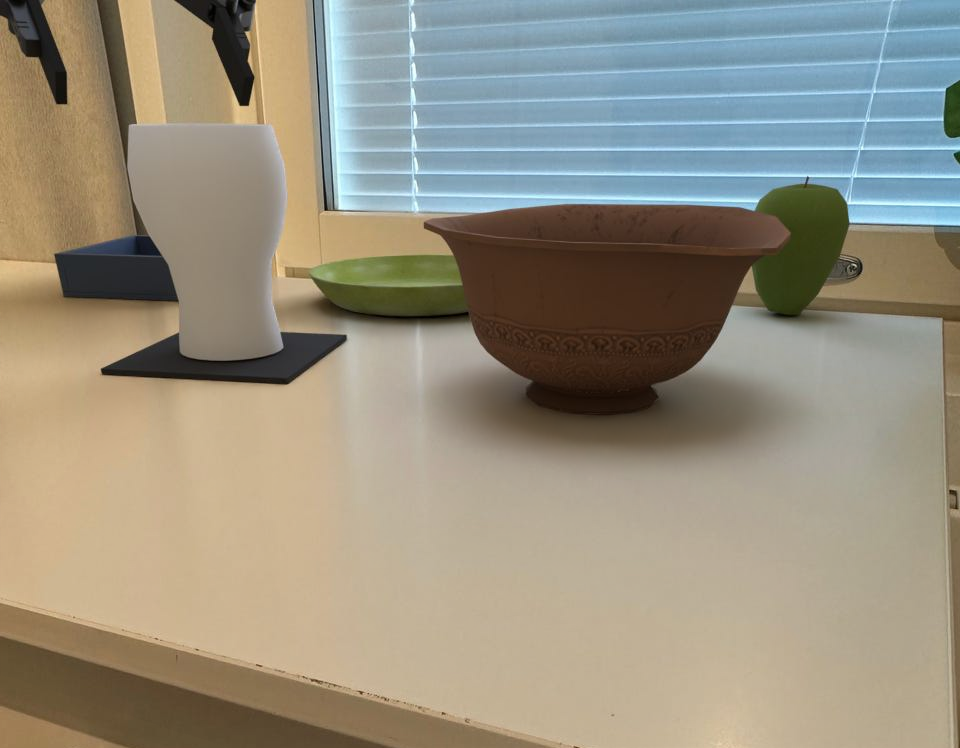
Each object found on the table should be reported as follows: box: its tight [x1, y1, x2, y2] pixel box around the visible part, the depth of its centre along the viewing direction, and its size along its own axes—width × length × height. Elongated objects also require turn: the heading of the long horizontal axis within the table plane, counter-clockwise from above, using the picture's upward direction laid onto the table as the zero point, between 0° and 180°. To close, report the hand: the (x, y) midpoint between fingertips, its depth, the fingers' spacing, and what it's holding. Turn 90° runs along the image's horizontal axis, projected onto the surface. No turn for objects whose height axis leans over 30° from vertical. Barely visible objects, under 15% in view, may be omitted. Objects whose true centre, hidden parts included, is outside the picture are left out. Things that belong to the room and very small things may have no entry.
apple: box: [751, 175, 851, 316], centre depth 80 cm, size 9×8×12 cm
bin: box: [53, 234, 179, 302], centre depth 94 cm, size 16×16×4 cm
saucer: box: [308, 253, 469, 317], centre depth 86 cm, size 21×21×3 cm
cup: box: [126, 123, 289, 361], centre depth 64 cm, size 11×11×15 cm
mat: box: [100, 331, 348, 385], centre depth 68 cm, size 14×14×1 cm
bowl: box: [423, 203, 791, 415], centre depth 56 cm, size 22×22×11 cm
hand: (159, 90), depth 65 cm, fingers open, 13 cm apart
